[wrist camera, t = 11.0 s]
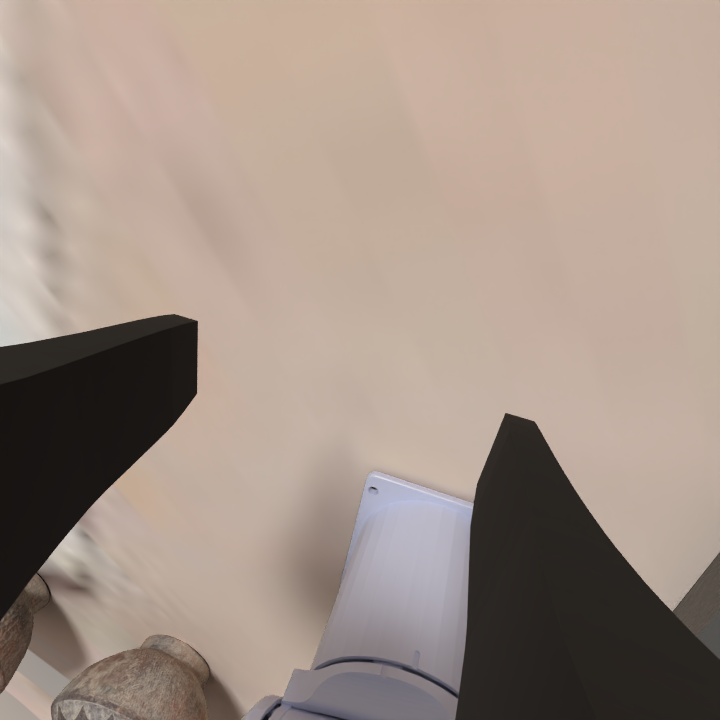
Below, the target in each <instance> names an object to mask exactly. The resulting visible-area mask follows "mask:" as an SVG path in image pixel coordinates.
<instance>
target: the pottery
mask: <svg viewBox="0 0 720 720" xmlns="http://www.w3.org/2000/svg"><path fill="white" fill-rule="evenodd" d="M49 596H50V595H49V592H48V589H47V586H46V585H45V583H44V582H43V580H42V579H41V578H40V576H39V575H38V574H37V573H36V574H35V575H34V576H33V578H32V579H31V580H30V582H29V583H28V584H27V586H26V587H25V588H24V590H23V591H22V592H21V594H20V595H19V596H18V598H17V599H16V600H15V602H14V603H13V605H12V606H11V607H10V609H9V610H8V611H7V613H6V614H5V615H4V617H3V618H2V619H1V621H0V693H2V692H3V690H4V689H5V687H6V686H7V685H8V683H9V681H10V680H11V678H12V677H13V675H14V673H15V671H16V670H17V668H18V666H19V664H20V663H21V661H22V659H23V657H24V655H25V653H26V650H27V648H28V646H29V644H30V640H31V635H32V629H33V619H34V617H33V614H34V613H35V612H37V611H38V610H40V609H41V608H43V607H44V606H45V605H46V604H47V603H48V601H49ZM209 675H210V674H209V668H208V666H207V664H206V662H205V661H204V659H203V658H202V657H201V656H200V655H199V654H198V653H197V652H196V651H195V650H194V649H193V648H191V647H190V646H189V645H187V644H186V643H184V642H182V641H180V640H178V639H175V638H172V637H170V636H167V635H154V636H151V637H149V638H147V639H146V640H145V642H144V643H143V644H142V646H141V647H140V649H132V650H127V651H124V652H121V653H118V654H116V655H113V656H110V657H108V658H105V659H103V660H101V661H99V662H97V663H95V664H93V665H91V666H90V667H88V668H87V669H85V670H84V671H83V672H82V673H80V674H79V675H78V676H77V677H76V678H75V679H73V680H72V681H71V682H70V683H69V684H68V685H67V686H66V687H65V688H64V689H63V691H62V692H61V693H60V694H59V695H58V696H57V697H56V699H55V700H54V701H53V703H52V706H51V716H52V720H209V719H208V710H207V704H206V699H205V696H204V693H203V688H204V686H205V685H206V683H207V680H208V678H209Z"/></svg>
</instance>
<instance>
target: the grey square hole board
mask: <svg viewBox="0 0 720 720" xmlns="http://www.w3.org/2000/svg"><path fill="white" fill-rule="evenodd" d="M673 613H674V614H675V615H676V616H677V617H678V618H679V619H680V620H681V621H682V623H683V624H684V625H685V626H686V627H687V628H688V629H689V630H690V631H691V632H692V633H693V634H694V635H695V636H696V637H697V638H698V639H699V640H700V641H701V642H702V643H703V644H704V645H705V646H706V647H707V648H708V649H709V650H710V651H711V652H713V653H714V654H715V655H716V656H717V657H718V658H719V659H720V553H719V555H718V556H717V557H716V558H715V560H714V561H713V562H712V564H711V565H710V566H709V567H708V569H707V570H706V571H705V572H704V574H703V575H702V576H701V577H700V579H699V580H698V581H697V582H696V584H695V585H694V586H693V587H692V589H691V590H690V591H689V593H688V594H687V595H686V596H685V598H684V599H683V600H682V601H681V603H680V604H679V605H678V606H677V608H676V609H675V610H674V611H673Z"/></svg>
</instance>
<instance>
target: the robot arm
mask: <svg viewBox="0 0 720 720" xmlns="http://www.w3.org/2000/svg"><path fill="white" fill-rule="evenodd" d="M197 345H198V321H196V320H192V319H189V318H186V317H182V316H179V315H175V314H172V315H163V316H157V317H151V318H146V319H141V320H136V321H132V322H127V323H123V324H118V325H114V326H109V327H105V328H100V329H96V330H91V331H87V332H82V333H77V334H72V335H67V336H61V337H56V338H51V339H46V340H41V341H35V342H30V343H24V344H18V345H11V346H4V347H0V621H1V619H2V618H3V617H4V615H5V614H6V613H7V611H8V610H9V609H10V607H11V606H12V605H13V603H14V602H15V600H16V599H17V598H18V596H19V595H20V594H21V592H22V591H23V590H24V588H25V587H26V586H27V584H28V583H29V582H30V580H31V579H32V578H33V576H34V575H35V574H36V573H37V571H38V570H39V569H40V568H41V566H42V565H43V564H44V563H45V561H46V560H47V559H48V557H49V556H50V555H51V554H52V552H53V551H54V550H55V549H56V547H57V546H58V545H59V544H60V542H61V541H62V540H63V539H64V538H65V536H66V535H67V534H68V533H69V532H70V530H71V529H72V528H73V527H74V526H75V524H76V523H77V522H78V521H79V520H80V518H81V517H82V516H83V515H84V514H85V513H86V511H87V510H88V509H89V508H90V507H91V506H92V505H93V504H94V502H95V501H96V500H97V499H98V498H99V497H100V496H101V495H102V494H103V493H104V492H105V491H106V490H107V489H108V488H109V487H110V486H111V485H112V484H113V483H114V482H115V481H116V480H117V479H118V478H119V477H120V476H122V475H123V474H124V473H125V472H126V471H127V470H128V469H129V468H130V467H131V466H132V465H133V464H134V463H135V462H136V461H137V460H138V459H139V458H140V457H141V456H142V455H143V454H144V453H145V452H146V451H147V450H148V449H149V448H150V447H152V446H153V445H154V444H155V443H156V442H157V441H158V440H159V439H160V438H161V437H162V436H163V435H164V434H165V433H166V432H167V431H168V430H169V429H170V428H171V427H172V426H173V424H174V423H175V422H176V421H177V419H178V418H179V417H180V416H181V414H182V413H183V412H184V411H185V409H186V408H187V407H188V405H189V404H190V402H191V401H192V400H193V398H194V397H195V396H196V394H197ZM371 487H375V488H377V490H374V489H372V488H371ZM241 720H720V659H719V658H718V657H717V656H716V655H715V654H714V653H713V652H711V651H710V650H709V649H708V648H707V647H706V646H705V645H704V644H703V643H702V642H701V641H700V640H699V639H698V638H697V637H696V636H695V635H694V634H693V633H692V632H691V631H690V630H689V629H688V628H687V627H686V626H685V625H684V624H683V623H682V621H681V620H680V619H679V618H678V617H677V616H676V615H675V614H674V613H673V612H672V611H671V610H670V609H669V608H668V607H667V606H666V605H665V604H664V603H663V602H662V601H661V600H660V599H659V597H658V596H657V595H656V594H655V593H654V592H653V591H652V590H651V589H650V587H649V586H648V585H647V584H646V583H645V582H644V581H643V580H642V578H641V577H640V576H639V575H638V574H637V572H636V571H635V570H634V569H633V568H632V566H631V565H630V564H629V563H628V562H627V560H626V559H625V558H624V557H623V556H622V554H621V553H620V552H619V551H618V550H617V548H616V547H615V546H614V544H613V543H612V542H611V541H610V539H609V538H608V537H607V535H606V534H605V533H604V531H603V530H602V528H601V527H600V526H599V524H598V523H597V521H596V520H595V519H594V517H593V516H592V514H591V513H590V512H589V510H588V509H587V507H586V506H585V504H584V503H583V501H582V500H581V498H580V497H579V495H578V494H577V492H576V491H575V489H574V488H573V486H572V484H571V483H570V481H569V480H568V478H567V476H566V475H565V473H564V471H563V470H562V468H561V466H560V465H559V463H558V461H557V460H556V458H555V456H554V454H553V453H552V451H551V449H550V447H549V446H548V444H547V442H546V440H545V439H544V437H543V435H542V433H541V431H540V430H539V428H538V426H537V424H536V423H535V422H534V421H531V420H528V419H524V418H521V417H517V416H514V415H511V414H507V413H505V416H504V418H503V421H502V423H501V426H500V428H499V431H498V433H497V436H496V438H495V441H494V443H493V446H492V448H491V451H490V453H489V456H488V458H487V461H486V463H485V466H484V468H483V471H482V473H481V476H480V478H479V481H478V483H477V488H476V494H475V500H474V503H471V502H468V501H465V500H462V499H459V498H456V497H453V496H450V495H447V494H444V493H441V492H438V491H435V490H432V489H429V488H426V487H423V486H420V485H417V484H414V483H411V482H408V481H405V480H402V479H399V478H396V477H393V476H390V475H387V474H384V473H381V472H376V471H374V472H371V473H369V474H368V476H367V479H366V482H365V486H364V490H363V494H362V498H361V502H360V506H359V510H358V514H357V518H356V522H355V526H354V530H353V534H352V539H351V543H350V547H349V551H348V555H347V559H346V563H345V567H344V571H343V575H342V579H341V583H340V590H339V592H338V595H337V598H336V600H335V603H334V606H333V609H332V611H331V614H330V617H329V620H328V622H327V625H326V628H325V631H324V633H323V636H322V639H321V642H320V644H319V647H318V650H317V653H316V655H315V658H314V661H313V663H312V666H311V669H310V670H301V669H294V671H293V674H292V676H291V679H290V681H289V684H288V686H287V689H286V691H285V694H284V696H283V697H279V696H275V695H270V696H266V697H264V698H263V699H261V700H260V701H259V702H257V703H256V704H255V705H254V707H253V708H252V709H251V710H250V711H249V712H248V713H247V714H246V715H245V716H244V717H243V718H242V719H241Z"/></svg>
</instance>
